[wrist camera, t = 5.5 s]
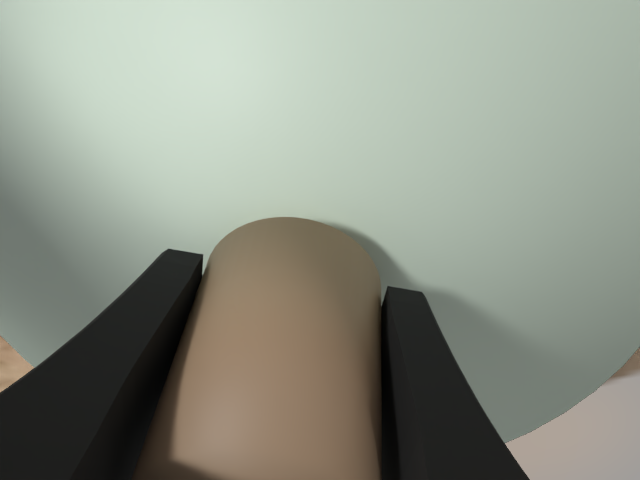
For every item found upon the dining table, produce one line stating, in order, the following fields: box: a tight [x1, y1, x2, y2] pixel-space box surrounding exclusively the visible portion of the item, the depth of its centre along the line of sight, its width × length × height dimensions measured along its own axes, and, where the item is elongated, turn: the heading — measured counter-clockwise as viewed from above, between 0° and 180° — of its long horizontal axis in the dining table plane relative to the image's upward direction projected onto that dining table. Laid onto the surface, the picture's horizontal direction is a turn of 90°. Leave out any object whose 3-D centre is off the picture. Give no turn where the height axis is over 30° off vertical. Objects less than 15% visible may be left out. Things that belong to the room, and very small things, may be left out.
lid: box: [0, 0, 640, 480], centre depth 10 cm, size 14×14×6 cm
